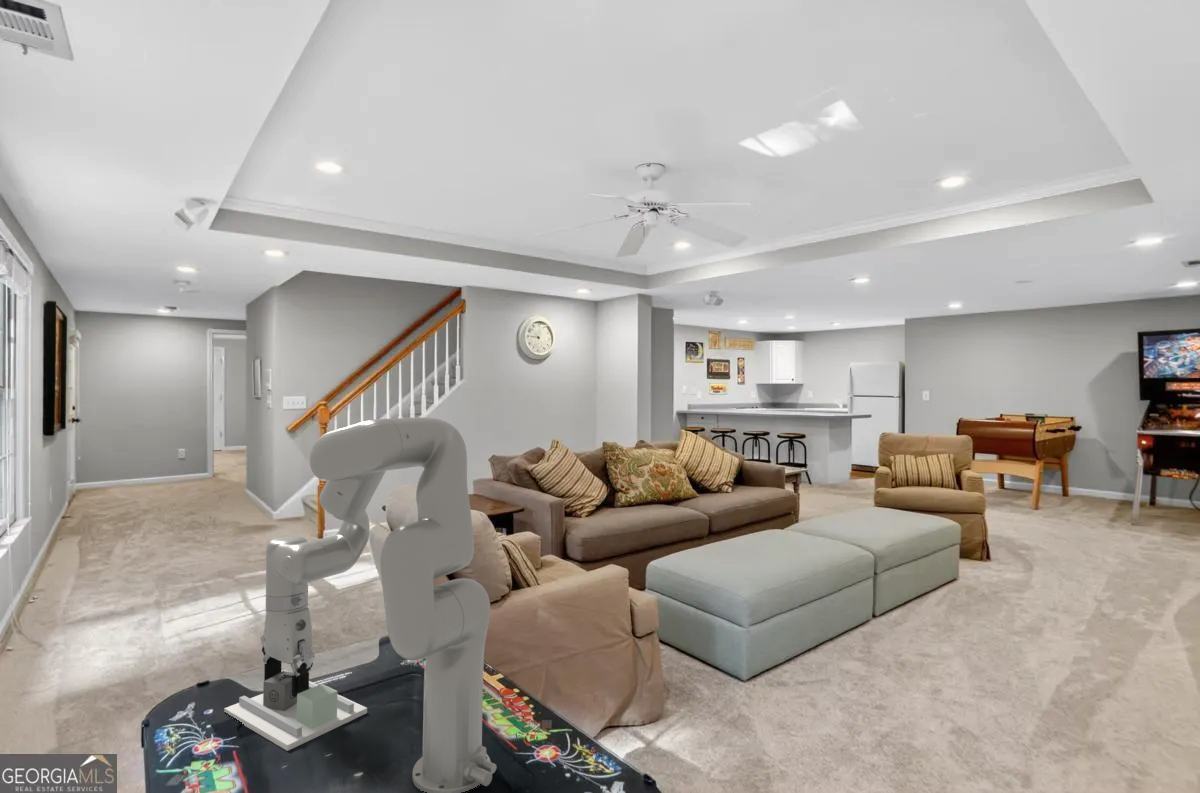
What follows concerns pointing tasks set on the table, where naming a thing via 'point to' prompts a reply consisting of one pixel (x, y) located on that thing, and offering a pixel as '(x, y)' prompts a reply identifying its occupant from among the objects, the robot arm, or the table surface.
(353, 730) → the table surface
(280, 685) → the dice cube
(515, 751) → the table surface
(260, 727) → the rail board
